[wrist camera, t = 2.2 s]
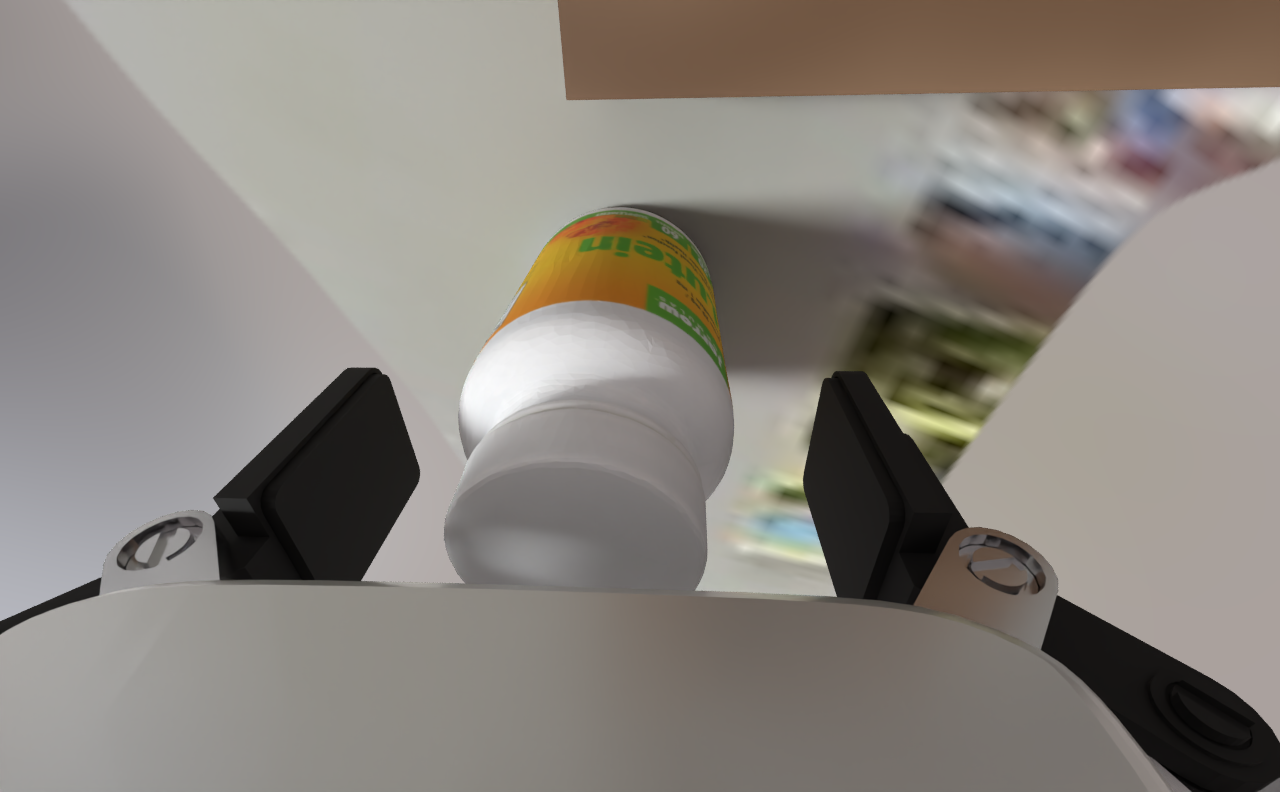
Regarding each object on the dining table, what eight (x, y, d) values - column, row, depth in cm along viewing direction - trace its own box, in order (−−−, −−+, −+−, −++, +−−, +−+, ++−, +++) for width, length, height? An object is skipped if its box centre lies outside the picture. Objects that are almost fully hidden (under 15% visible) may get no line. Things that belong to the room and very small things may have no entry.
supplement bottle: (745, 248, 15) (836, 500, 7) (667, 391, 18) (666, 684, 10) (565, 169, 14) (423, 353, 6) (514, 334, 17) (373, 608, 9)
